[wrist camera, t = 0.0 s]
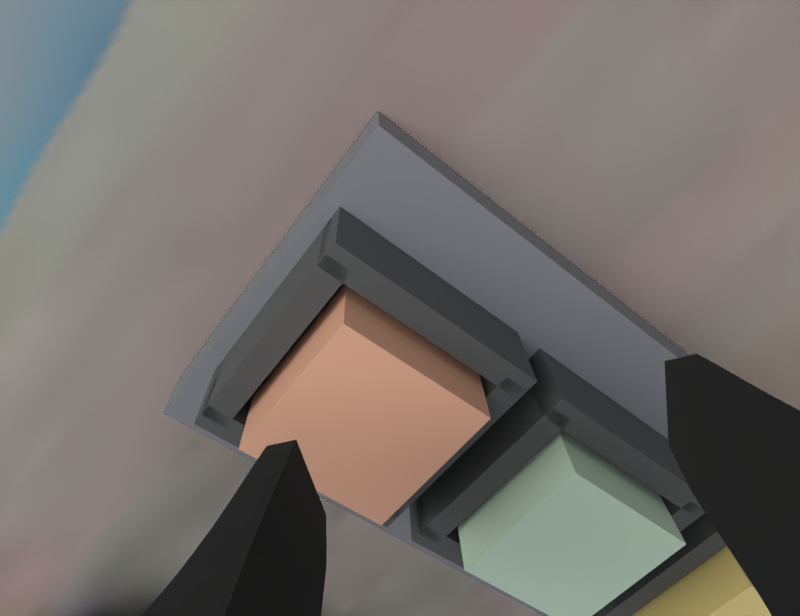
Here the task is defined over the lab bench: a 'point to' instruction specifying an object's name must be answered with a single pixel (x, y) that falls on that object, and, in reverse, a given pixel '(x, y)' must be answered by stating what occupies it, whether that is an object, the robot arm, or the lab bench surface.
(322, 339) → the terracotta button
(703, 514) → the button panel
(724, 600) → the ochre button
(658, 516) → the sage button
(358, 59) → the lab bench surface
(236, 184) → the lab bench surface
